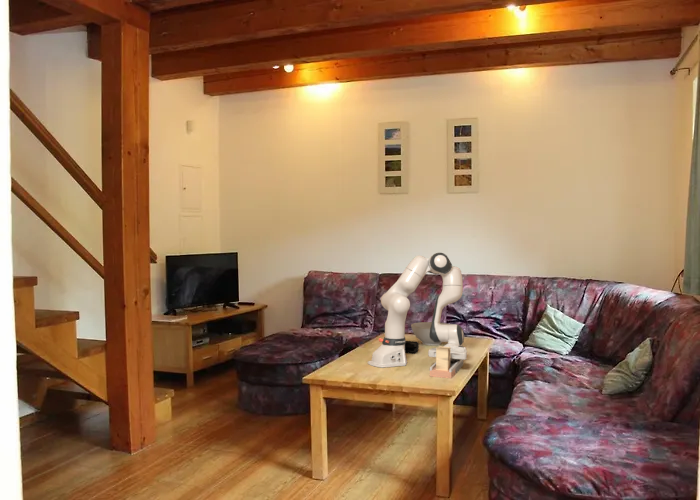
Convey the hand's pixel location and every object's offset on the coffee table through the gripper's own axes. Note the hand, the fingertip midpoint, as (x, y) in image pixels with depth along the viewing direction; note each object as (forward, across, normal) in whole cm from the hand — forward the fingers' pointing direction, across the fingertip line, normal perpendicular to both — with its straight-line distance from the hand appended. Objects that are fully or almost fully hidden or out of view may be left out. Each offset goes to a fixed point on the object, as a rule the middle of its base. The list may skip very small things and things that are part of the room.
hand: (444, 356), depth 313 cm
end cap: (-44, -32, +9) cm, 55 cm away
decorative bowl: (-77, -26, +9) cm, 82 cm away
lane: (-6, 0, +8) cm, 11 cm away
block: (+4, 0, +6) cm, 7 cm away
